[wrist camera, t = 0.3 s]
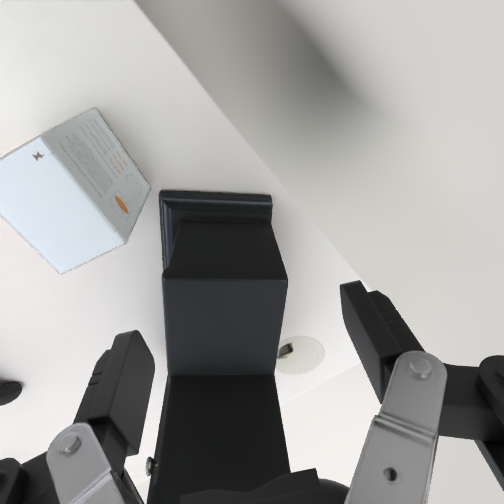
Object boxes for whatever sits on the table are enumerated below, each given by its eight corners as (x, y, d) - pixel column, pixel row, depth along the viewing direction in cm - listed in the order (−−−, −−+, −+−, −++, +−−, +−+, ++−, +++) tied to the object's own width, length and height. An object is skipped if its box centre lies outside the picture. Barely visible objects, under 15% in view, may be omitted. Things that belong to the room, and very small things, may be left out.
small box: (41, 137, 28) (-42, 177, 19) (96, 105, 27) (37, 132, 18) (103, 214, 32) (58, 278, 23) (153, 188, 31) (127, 244, 22)
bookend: (157, 188, 31) (50, 435, 11) (273, 193, 33) (360, 424, 13) (169, 362, 43) (126, 634, 23) (253, 361, 44) (281, 618, 24)
